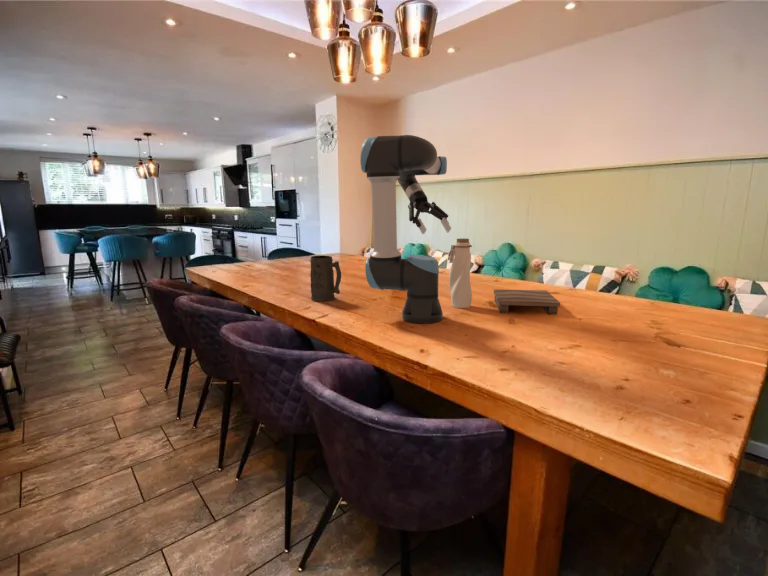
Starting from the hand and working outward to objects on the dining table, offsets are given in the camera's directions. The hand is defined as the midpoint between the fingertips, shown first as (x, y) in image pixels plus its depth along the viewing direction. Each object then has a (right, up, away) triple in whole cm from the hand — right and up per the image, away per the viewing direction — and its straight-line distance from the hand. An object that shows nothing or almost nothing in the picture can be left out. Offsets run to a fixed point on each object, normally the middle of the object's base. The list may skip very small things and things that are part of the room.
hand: (437, 231), depth 166 cm
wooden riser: (+35, -32, -7) cm, 48 cm away
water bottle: (+9, -32, -4) cm, 33 cm away
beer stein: (-49, -30, +11) cm, 58 cm away
